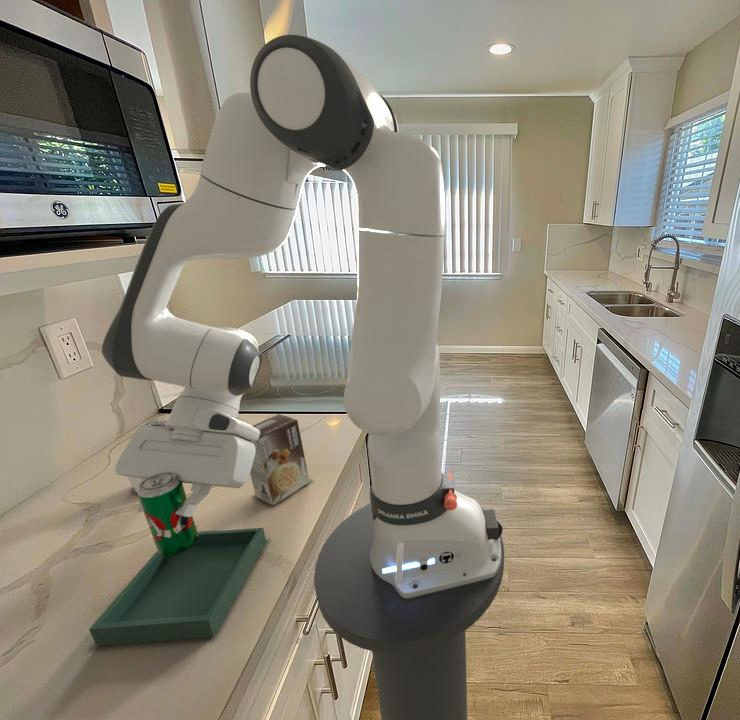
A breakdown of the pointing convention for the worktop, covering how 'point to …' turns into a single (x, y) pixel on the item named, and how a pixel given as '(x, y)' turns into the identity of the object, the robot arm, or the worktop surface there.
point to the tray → (182, 591)
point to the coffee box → (278, 459)
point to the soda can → (167, 514)
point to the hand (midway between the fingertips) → (164, 514)
